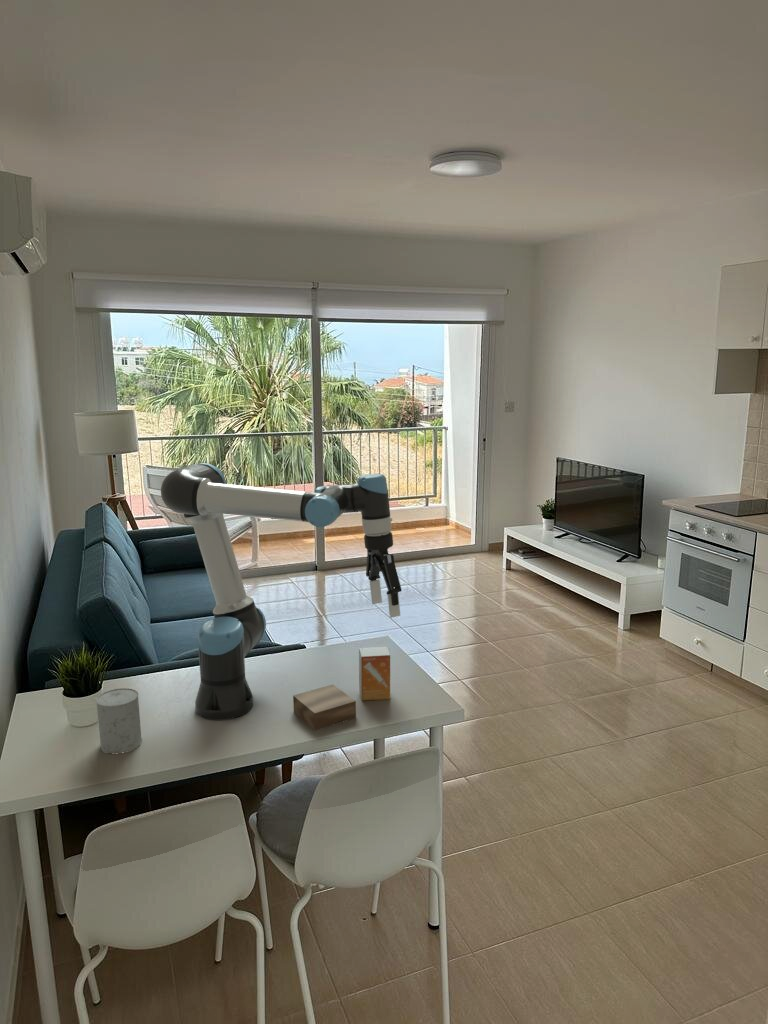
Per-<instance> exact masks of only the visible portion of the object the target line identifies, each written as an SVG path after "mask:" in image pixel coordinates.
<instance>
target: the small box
mask: <svg viewBox="0 0 768 1024" xmlns="http://www.w3.org/2000/svg"><path fill="white" fill-rule="evenodd" d="M358 676H359V677H358V685H359V687H358V689H359V694H360V700H361V701H373V700H374V701H375V700H377V701H378V700H390V699H391V653H390V651H389V648H388V646H372V647H359V648H358Z"/></svg>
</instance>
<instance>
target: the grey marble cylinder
mask: <svg viewBox="0 0 768 1024" xmlns="http://www.w3.org/2000/svg"><path fill="white" fill-rule="evenodd" d="M95 702H96V710H97V720H98V729H99V730H98V731H99V740H100V750H101V751H102V752H103V753H105V752H106V753H105V754H107V753H114V754H113V755H116V754H115V753H122V752H126V753H128V752H127V751H129V752H131V751H130V750H132V751H134V750H136V749H137V748H139V747H140V746H141V745H140V744H142V742H143V738H142V728H141V726H142V725H141V717H140V716H141V715H140V704H139V703H140V702H139V692H138V691H137V690H136V689H133V688H128V687H126V688H125V687H124V688H123V687H122V688H113V689H110V690H107V691H105V692H103V693H101V694H99V695H98V696H97V697H96V699H95ZM139 745H140V746H139ZM138 746H139V747H138ZM135 748H136V749H135ZM133 749H134V750H133ZM122 754H123V753H122Z"/></svg>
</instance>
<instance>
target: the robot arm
mask: <svg viewBox="0 0 768 1024" xmlns="http://www.w3.org/2000/svg"><path fill="white" fill-rule="evenodd" d="M389 495H390V494H389V488H388V483H387V478H386V476H385V475H384V474H382V473H371V474H370V473H369V474H363V475H360V476H358V477H357V483H356V482H355V483H352V484H336V485H335V484H334V485H330V484H327V485H323V486H322V485H321V486H318V487H315V489H314V492H312V491H303V490H293V489H292V490H291V489H285V488H284V489H281V488H270V487H261V486H250V485H242V484H240V485H239V484H230V483H227V480H226V478H225V476H224V473H223V472H222V471H221V470H220V469H219V468H218V467H217V466H215V465H213V464H212V463H211V464H210V463H207V462H199V463H193V464H190V465H187V466H185V467H181V468H178V469H175V470H172V471H171V472H169V473H168V474H167V475H166V476H165V478H164V479H163V480H162V483H161V487H160V496H161V499H162V502H163V504H164V505H165V506H166V507H167V508H168V509H169V510H171V511H172V512H174V513H177V514H180V515H181V514H182V515H183V517H184V519H185V520H187V521H189V522H190V523H191V524H192V527H193V530H194V533H195V536H196V540H197V541H196V542H197V543H198V547H199V550H200V555H201V557H202V560H203V563H204V567H205V571H206V574H207V577H208V581H209V584H210V586H211V587H210V588H211V591H212V594H213V597H214V600H215V606H214V608H213V610H212V614H213V617H214V618H213V619H209V620H207V621H205V622H204V623H203V624H202V625H201V626H200V627H199V629H198V632H197V647H198V658H199V659H198V660H199V663H198V664H199V673H200V674H199V675H200V683H199V687H198V691H197V694H196V698H195V701H194V702H195V703H194V704H195V706H194V707H195V713H196V714H197V715H198V716H199V717H200V718H204V719H205V720H213V721H220V720H221V721H223V720H231V719H234V718H235V719H236V718H239V717H240V716H241V717H242V716H244V715H245V714H247V713H248V712H250V711H251V709H252V708H253V707H254V696H253V693H252V690H251V688H250V686H249V683H248V681H247V679H246V663H245V659H246V656H247V655H248V654H249V653H250V652H251V651H252V650H253V648H255V647H256V646H257V645H258V644H259V643H260V642H261V640H262V639H263V636H264V635H265V632H266V627H267V621H266V616H265V614H264V613H263V610H261V609H260V608H259V607H257V606H256V604H255V600H254V598H252V597H251V596H250V595H249V596H248V595H247V593H246V589H245V586H244V582H243V579H242V576H241V573H240V569H239V566H238V565H239V564H238V563H237V562H238V561H237V559H236V555H235V552H234V549H233V545H232V541H231V538H230V535H229V531H228V526H227V523H226V520H225V517H224V515H232V516H233V515H234V516H235V515H236V516H244V517H245V516H246V517H253V518H263V519H272V520H273V519H274V520H275V519H276V520H284V521H294V522H302V523H303V522H304V523H309V524H311V526H314V527H317V528H325V527H327V526H330V525H332V524H333V523H335V522H336V521H337V519H338V518H339V517H341V516H342V514H348V513H349V514H351V513H361V523H362V531H363V534H364V536H363V539H364V540H363V541H364V548H365V549H366V552H367V554H366V569H365V576H366V577H367V578H368V580H369V586H370V597H371V604H372V605H377V604H382V603H383V600H382V599H383V598H382V590H381V589H382V588H381V580H380V579H381V575H380V573H381V574H382V576H383V580H384V583H385V586H386V587H387V591H386V595H387V602H388V612H389V613H388V615H389V618H390V619H391V618H396V617H399V616H400V617H401V607H400V597H399V592H402V586H401V583H400V579H399V575H398V571H397V568H396V564H395V557H394V554H392V553H391V554H390V553H389V549H390V548H392V547H393V546H394V539H393V538H394V537H393V533H392V529H393V528H392V521H393V518H392V517H391V509H390V498H389V497H390V496H389Z"/></svg>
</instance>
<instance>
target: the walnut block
mask: <svg viewBox="0 0 768 1024" xmlns="http://www.w3.org/2000/svg"><path fill="white" fill-rule="evenodd" d="M292 697H293V701H292V702H293V713H294V714H296V715H297V716H298V717H299V718H300V719H301V720H302V721H304V722H305V723H306V724H307V725H308V726H309V727H310V728H312V729H313V730H314V731H318V730H317V729H319V730H321V728H322V729H324V727H325V728H327V726H328V727H331V726H334V725H337V723H338V724H340V722H341V723H343V721H344V722H348V721H350V720H354V719H356V718H357V701H356V700H355V699H354V698H353V697H351V696H349V695H348V694H347V693H346V692H344V691H343V690H341V689H340V688H339V687H338V686H336V685H335V684H329V685H326V686H322V687H319V688H315V689H311V690H308V691H304V692H301V693H298V694H294V695H292ZM333 724H334V725H333Z"/></svg>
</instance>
